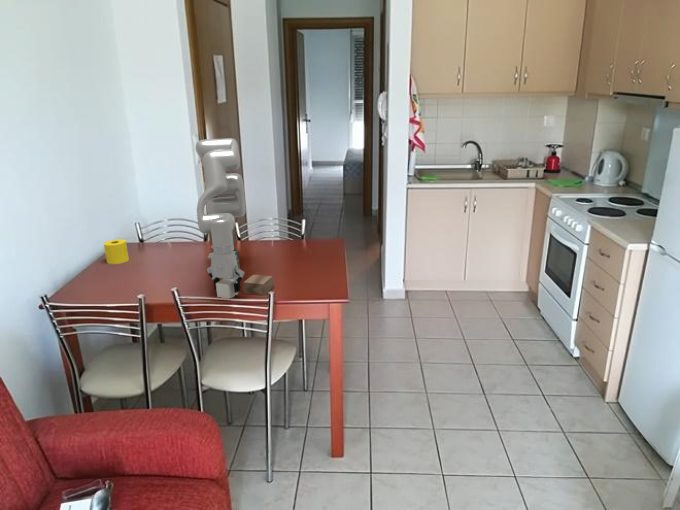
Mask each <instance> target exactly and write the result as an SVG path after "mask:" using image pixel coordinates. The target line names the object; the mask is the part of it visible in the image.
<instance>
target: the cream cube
mask: <svg viewBox="0 0 680 510" xmlns="http://www.w3.org/2000/svg"><path fill="white" fill-rule="evenodd" d="M234 283H235V282H234V281H233V279H222V280H221V281H219V282H217V283H216V290H215V291H216V295H217V296H216V297H217V298H219V297H221V299H226V298H231V299H232V298H234V297H235V295H236V296H237V295H239V292H237V293H235V291H234Z"/></svg>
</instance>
